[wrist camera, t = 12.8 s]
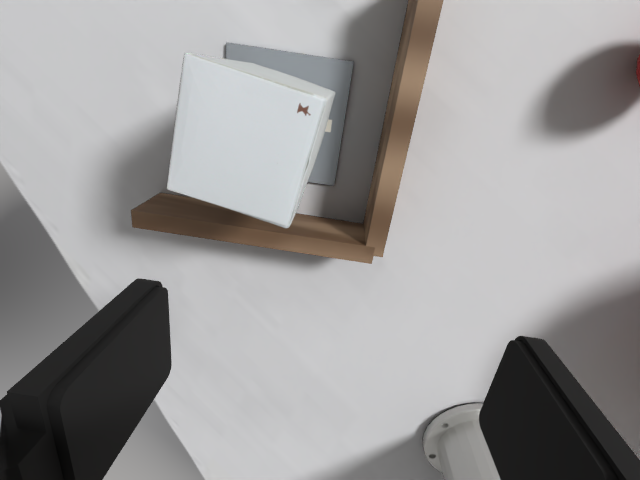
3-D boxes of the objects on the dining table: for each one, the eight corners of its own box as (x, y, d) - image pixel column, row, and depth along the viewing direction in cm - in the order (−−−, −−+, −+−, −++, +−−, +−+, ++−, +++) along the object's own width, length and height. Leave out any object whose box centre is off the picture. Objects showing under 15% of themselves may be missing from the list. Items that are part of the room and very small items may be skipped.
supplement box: (248, 59, 28) (181, 43, 16) (337, 91, 28) (333, 97, 17) (229, 150, 31) (161, 190, 19) (310, 177, 31) (290, 232, 20)
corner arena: (375, 240, 34) (380, 265, 29) (161, 207, 34) (132, 227, 29) (434, -22, 25) (453, -44, 21) (147, -65, 25) (104, -97, 21)
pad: (334, 184, 32) (334, 185, 32) (224, 168, 32) (223, 169, 32) (353, 61, 28) (353, 61, 27) (227, 42, 28) (226, 42, 28)
